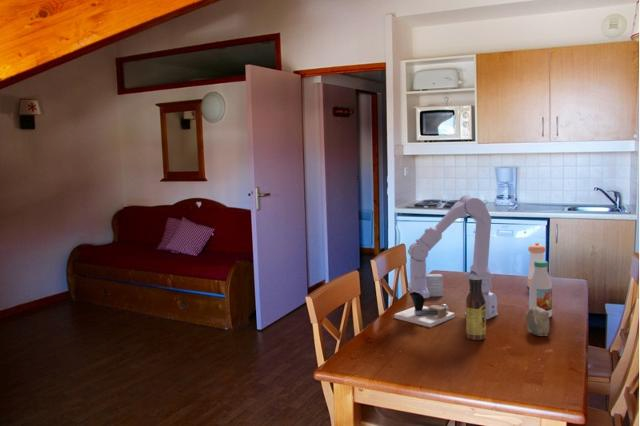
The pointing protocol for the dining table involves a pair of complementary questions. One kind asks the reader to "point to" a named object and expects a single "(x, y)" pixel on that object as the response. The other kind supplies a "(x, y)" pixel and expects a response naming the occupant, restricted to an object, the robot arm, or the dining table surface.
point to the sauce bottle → (475, 310)
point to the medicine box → (434, 284)
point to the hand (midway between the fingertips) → (418, 312)
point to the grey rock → (538, 321)
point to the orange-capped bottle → (535, 258)
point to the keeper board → (426, 316)
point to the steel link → (428, 311)
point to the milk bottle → (541, 288)
